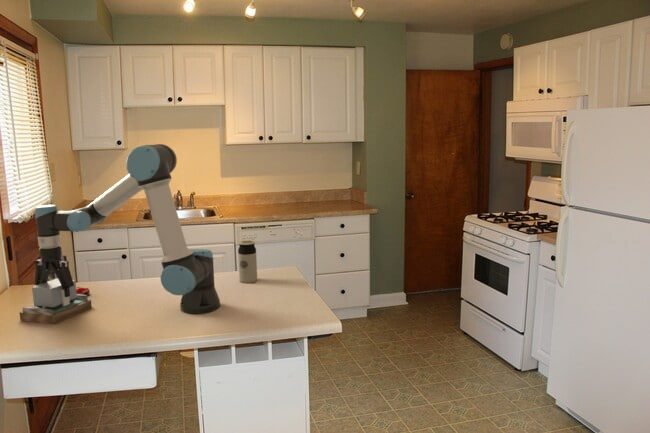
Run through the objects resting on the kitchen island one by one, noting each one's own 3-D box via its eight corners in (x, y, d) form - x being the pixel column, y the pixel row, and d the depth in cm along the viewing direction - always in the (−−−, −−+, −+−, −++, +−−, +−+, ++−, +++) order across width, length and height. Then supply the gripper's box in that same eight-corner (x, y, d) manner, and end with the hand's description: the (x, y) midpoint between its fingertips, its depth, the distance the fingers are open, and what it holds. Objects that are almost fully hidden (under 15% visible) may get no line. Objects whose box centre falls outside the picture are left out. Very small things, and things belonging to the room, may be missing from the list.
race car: (66, 304, 224) (65, 294, 223) (57, 302, 226) (55, 293, 225) (92, 294, 235) (91, 285, 235) (82, 293, 238) (81, 284, 237)
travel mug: (248, 277, 256) (246, 239, 253) (260, 280, 251) (259, 241, 248) (235, 281, 249) (234, 242, 246) (248, 284, 245) (247, 244, 242)
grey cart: (77, 301, 215) (75, 280, 214) (53, 311, 204) (51, 289, 202) (58, 299, 218) (56, 278, 216) (34, 309, 207) (31, 287, 205)
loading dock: (91, 307, 218) (90, 295, 217) (54, 324, 200) (53, 311, 199) (59, 303, 223) (58, 292, 222) (20, 320, 205) (18, 307, 204)
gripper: (19, 247, 207) (26, 304, 211) (65, 250, 200) (71, 309, 204) (35, 242, 214) (41, 298, 218) (80, 245, 207) (86, 303, 211)
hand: (56, 303), depth 211 cm, fingers closed on grey cart, 9 cm apart
